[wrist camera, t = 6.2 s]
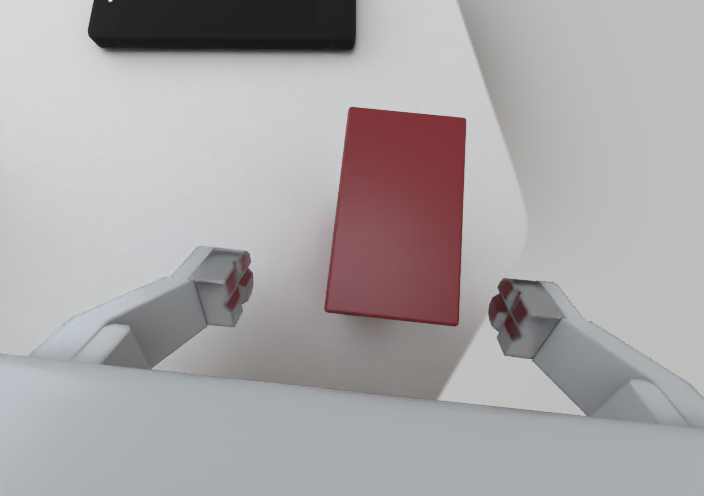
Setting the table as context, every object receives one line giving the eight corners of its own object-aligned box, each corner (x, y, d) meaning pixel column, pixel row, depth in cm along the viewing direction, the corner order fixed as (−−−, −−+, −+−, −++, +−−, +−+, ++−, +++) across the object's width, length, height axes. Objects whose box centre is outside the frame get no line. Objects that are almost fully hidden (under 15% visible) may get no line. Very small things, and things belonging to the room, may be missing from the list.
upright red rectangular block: (397, 313, 17) (459, 326, 7) (338, 307, 17) (323, 312, 8) (405, 215, 18) (467, 113, 9) (349, 209, 18) (348, 102, 9)
